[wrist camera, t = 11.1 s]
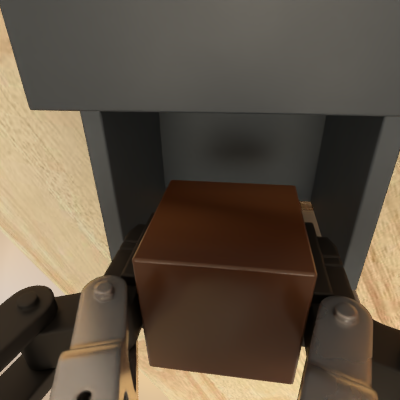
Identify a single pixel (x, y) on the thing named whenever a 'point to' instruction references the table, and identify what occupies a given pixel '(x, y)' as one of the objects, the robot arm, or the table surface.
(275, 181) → the drawer
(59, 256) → the table surface
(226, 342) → the block
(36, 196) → the table surface
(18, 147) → the table surface
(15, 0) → the cabinet
